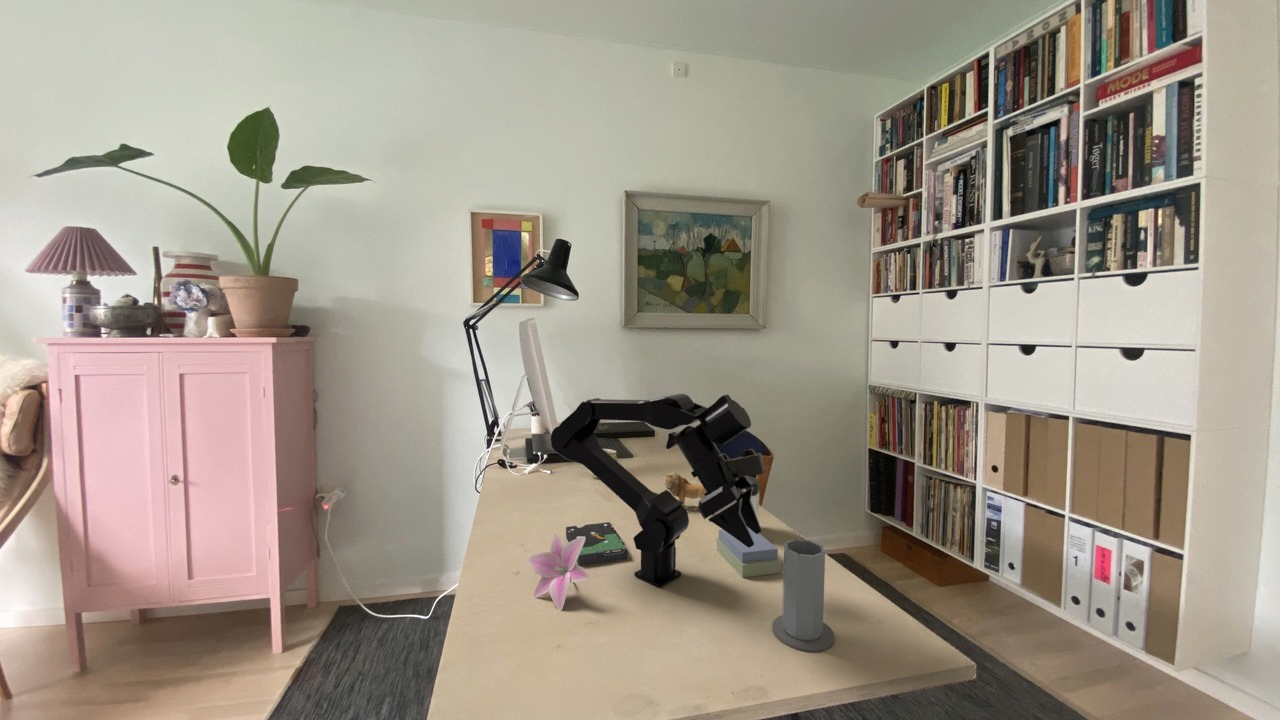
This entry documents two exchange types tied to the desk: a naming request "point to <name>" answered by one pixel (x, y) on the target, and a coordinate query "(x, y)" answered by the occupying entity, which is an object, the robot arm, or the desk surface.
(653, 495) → the robot arm
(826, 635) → the coaster
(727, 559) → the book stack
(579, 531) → the disk drive
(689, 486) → the lion figurine
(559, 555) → the lily
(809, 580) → the pen cup
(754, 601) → the desk surface
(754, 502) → the jar
